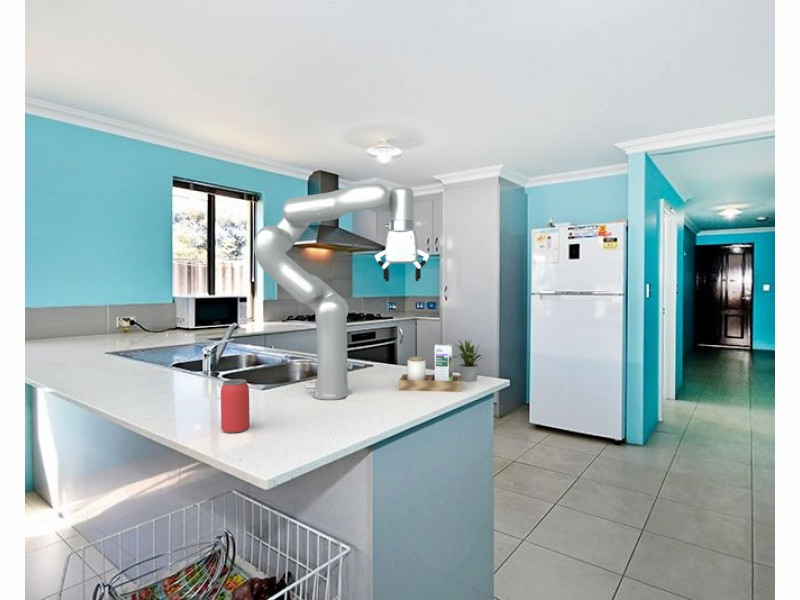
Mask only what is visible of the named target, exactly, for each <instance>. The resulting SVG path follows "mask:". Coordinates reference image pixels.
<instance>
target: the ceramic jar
mask: <svg viewBox="0 0 800 600" xmlns="http://www.w3.org/2000/svg"><path fill="white" fill-rule="evenodd" d="M407 374H408V380H425V375H426V359H425V358H424V356H417V355H415V356H409V357H408V360H407Z"/></svg>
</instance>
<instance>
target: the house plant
mask: <svg viewBox="0 0 800 600" xmlns="http://www.w3.org/2000/svg"><path fill="white" fill-rule="evenodd" d="M457 341H458V342H459V343H460V345H458V344H457V343H456V342H455V343H454V342H451V341H450V344H453V347H455V348H457V350H458V351H459V354H458V355H453V359H455V358H457V359H458V360H460V362H461V364H458V367H459V368H458V369H459V375H461V382H464V383H474V382H477V380H478V374H479V366H480V365H479V364H477V363H478V361H480V360H481V359H483V357H481V356H483V355H482V354H480V353H479V352H478V350H479V349H478V348H479V347H480V345H481V343H479V345H478V346H477V347H476V349H475V345H474V344H473V345H471V343H472V342H471V341H472V340H468V341H467V339H464V344H463V342H462V341H461V340H459V339H457ZM454 344H455V345H454ZM477 354H478V355H477ZM459 355H460V356H459ZM458 357H460V358H461V359H462V360H463V361H462V360H461V359H460V358H458ZM479 357H481V358H479ZM463 362H464V363H463Z"/></svg>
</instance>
